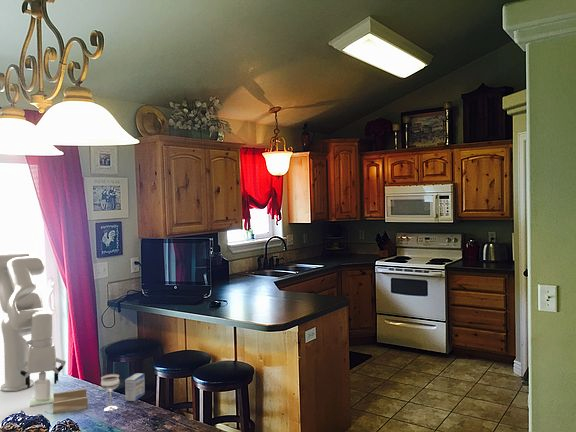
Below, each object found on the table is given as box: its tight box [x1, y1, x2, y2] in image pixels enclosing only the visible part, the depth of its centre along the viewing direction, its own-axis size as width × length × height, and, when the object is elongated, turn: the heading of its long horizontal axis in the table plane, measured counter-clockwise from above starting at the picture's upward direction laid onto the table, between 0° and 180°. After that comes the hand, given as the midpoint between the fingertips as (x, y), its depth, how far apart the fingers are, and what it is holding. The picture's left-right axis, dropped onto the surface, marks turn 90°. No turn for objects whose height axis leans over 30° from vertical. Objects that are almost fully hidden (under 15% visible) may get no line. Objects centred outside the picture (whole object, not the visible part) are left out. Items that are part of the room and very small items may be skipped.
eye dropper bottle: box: [34, 371, 51, 401], centre depth 191 cm, size 4×6×12 cm
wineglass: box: [100, 373, 120, 412], centre depth 182 cm, size 7×7×12 cm
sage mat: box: [29, 393, 54, 408], centre depth 191 cm, size 9×9×1 cm
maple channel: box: [52, 388, 89, 415], centre depth 185 cm, size 11×12×4 cm
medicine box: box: [124, 372, 146, 402], centre depth 193 cm, size 8×4×9 cm, turn 168°
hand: (42, 384), depth 191 cm, fingers open, 9 cm apart
